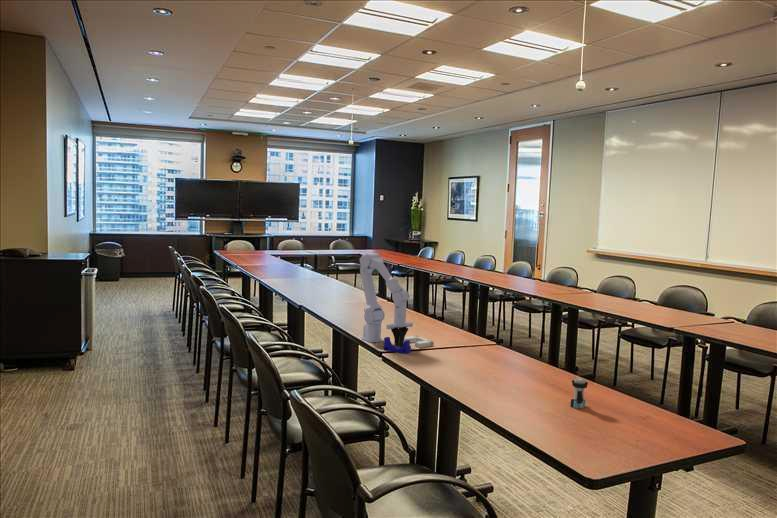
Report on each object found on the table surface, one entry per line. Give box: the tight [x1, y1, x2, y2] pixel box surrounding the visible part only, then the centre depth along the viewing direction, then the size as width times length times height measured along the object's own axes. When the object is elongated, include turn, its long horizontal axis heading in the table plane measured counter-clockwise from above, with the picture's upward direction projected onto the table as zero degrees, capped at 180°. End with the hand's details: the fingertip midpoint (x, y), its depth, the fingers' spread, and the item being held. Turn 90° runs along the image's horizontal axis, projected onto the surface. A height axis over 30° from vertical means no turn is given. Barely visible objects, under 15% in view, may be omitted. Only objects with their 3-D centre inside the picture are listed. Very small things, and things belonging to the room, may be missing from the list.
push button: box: [570, 377, 589, 409], centre depth 193 cm, size 7×5×10 cm
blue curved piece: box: [383, 336, 412, 355], centre depth 260 cm, size 12×4×6 cm, turn 63°
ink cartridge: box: [393, 328, 404, 348], centre depth 269 cm, size 5×2×8 cm, turn 33°
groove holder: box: [404, 335, 434, 349], centre depth 276 cm, size 14×9×2 cm, turn 35°
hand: (399, 342), depth 269 cm, fingers closed on ink cartridge, 2 cm apart
